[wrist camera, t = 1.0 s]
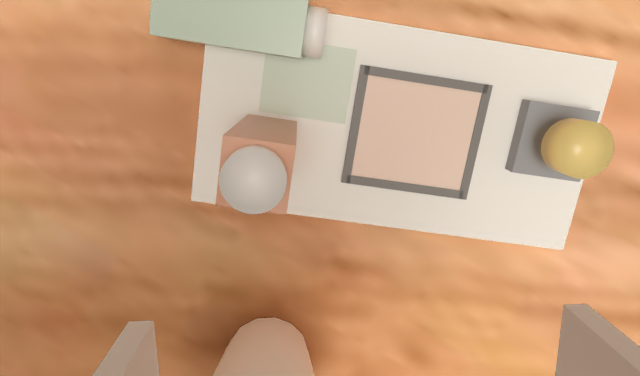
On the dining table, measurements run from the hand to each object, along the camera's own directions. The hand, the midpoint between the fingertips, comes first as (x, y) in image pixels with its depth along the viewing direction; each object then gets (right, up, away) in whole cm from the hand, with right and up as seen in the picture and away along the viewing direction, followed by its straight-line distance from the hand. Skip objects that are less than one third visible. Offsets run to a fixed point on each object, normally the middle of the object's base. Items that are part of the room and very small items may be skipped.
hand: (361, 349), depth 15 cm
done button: (+15, +8, +16) cm, 23 cm away
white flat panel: (+4, +9, +19) cm, 21 cm away
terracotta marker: (-5, +8, +18) cm, 20 cm away
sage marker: (-7, +16, +16) cm, 23 cm away
